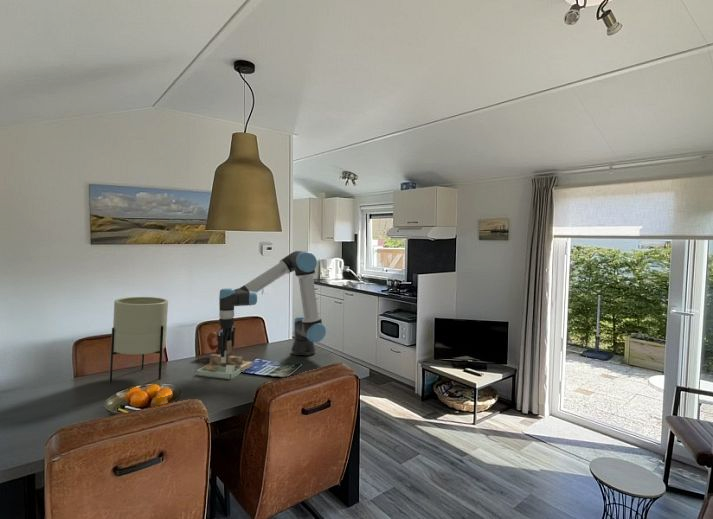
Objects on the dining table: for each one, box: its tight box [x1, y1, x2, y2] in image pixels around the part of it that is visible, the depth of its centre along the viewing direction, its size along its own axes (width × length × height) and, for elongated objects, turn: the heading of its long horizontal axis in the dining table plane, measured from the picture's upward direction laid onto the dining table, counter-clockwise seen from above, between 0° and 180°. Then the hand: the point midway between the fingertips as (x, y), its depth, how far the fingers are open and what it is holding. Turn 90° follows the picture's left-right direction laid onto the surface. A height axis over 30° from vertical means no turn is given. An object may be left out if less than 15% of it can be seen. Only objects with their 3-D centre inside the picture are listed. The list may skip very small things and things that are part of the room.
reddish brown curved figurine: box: [206, 330, 221, 355], centre depth 236 cm, size 15×8×15 cm, turn 84°
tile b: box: [204, 364, 216, 372], centre depth 206 cm, size 4×4×2 cm
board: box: [208, 360, 254, 372], centre depth 215 cm, size 20×11×3 cm, turn 75°
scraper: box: [209, 340, 244, 366], centre depth 210 cm, size 18×4×12 cm, turn 75°
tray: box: [195, 365, 242, 380], centre depth 204 cm, size 20×10×3 cm, turn 75°
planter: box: [108, 296, 169, 384], centre depth 197 cm, size 23×24×39 cm
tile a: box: [225, 365, 235, 374], centre depth 205 cm, size 4×4×2 cm
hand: (226, 361), depth 210 cm, fingers closed on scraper, 4 cm apart
